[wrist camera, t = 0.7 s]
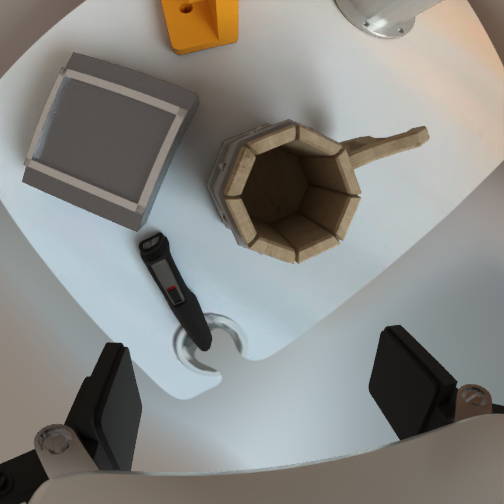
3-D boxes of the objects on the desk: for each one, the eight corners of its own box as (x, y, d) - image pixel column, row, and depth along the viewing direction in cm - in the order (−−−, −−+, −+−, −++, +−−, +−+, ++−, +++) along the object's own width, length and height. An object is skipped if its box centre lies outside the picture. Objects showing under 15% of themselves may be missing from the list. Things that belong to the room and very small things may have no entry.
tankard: (238, 252, 39) (256, 306, 25) (193, 155, 35) (182, 152, 21) (380, 188, 39) (455, 206, 25) (345, 95, 36) (414, 69, 21)
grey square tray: (88, 63, 30) (70, 50, 25) (199, 102, 34) (197, 92, 28) (41, 178, 33) (18, 182, 28) (145, 222, 37) (135, 233, 31)
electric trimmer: (193, 344, 42) (192, 357, 39) (137, 242, 38) (132, 250, 35) (218, 334, 42) (219, 347, 39) (164, 230, 38) (161, 236, 35)
